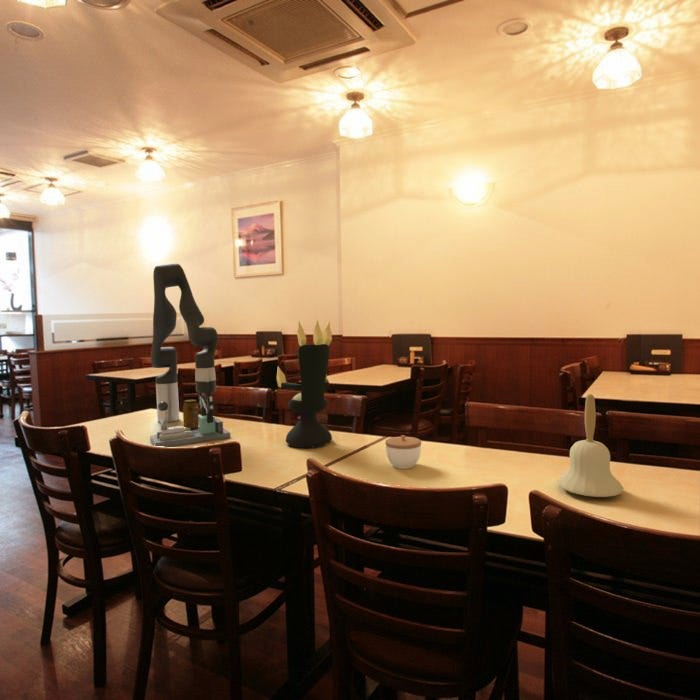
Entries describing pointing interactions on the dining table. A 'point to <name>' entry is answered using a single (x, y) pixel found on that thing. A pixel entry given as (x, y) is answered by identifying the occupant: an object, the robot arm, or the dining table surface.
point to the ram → (163, 420)
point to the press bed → (190, 436)
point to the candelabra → (309, 389)
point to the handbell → (590, 463)
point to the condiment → (191, 414)
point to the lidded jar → (403, 451)
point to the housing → (206, 425)
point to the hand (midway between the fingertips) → (207, 420)
